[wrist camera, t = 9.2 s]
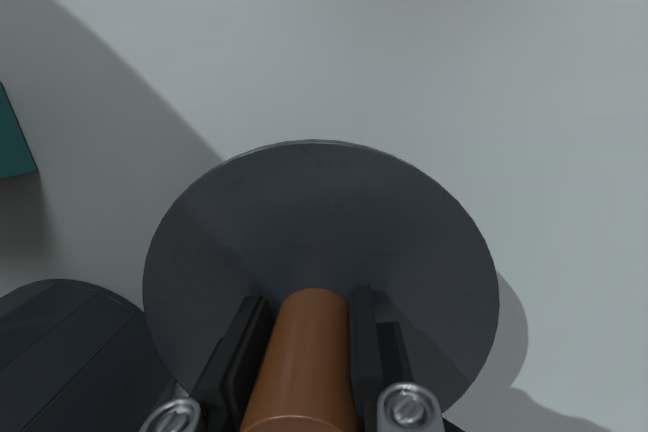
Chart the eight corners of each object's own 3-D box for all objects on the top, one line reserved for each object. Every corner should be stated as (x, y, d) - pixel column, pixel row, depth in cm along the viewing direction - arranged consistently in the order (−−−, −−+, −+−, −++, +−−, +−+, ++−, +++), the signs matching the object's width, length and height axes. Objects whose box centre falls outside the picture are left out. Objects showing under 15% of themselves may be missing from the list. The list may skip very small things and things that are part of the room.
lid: (114, 164, 12) (-120, 225, 6) (486, 110, 10) (670, 116, 5) (205, 432, 16) (120, 631, 10) (485, 415, 14) (585, 634, 8)
